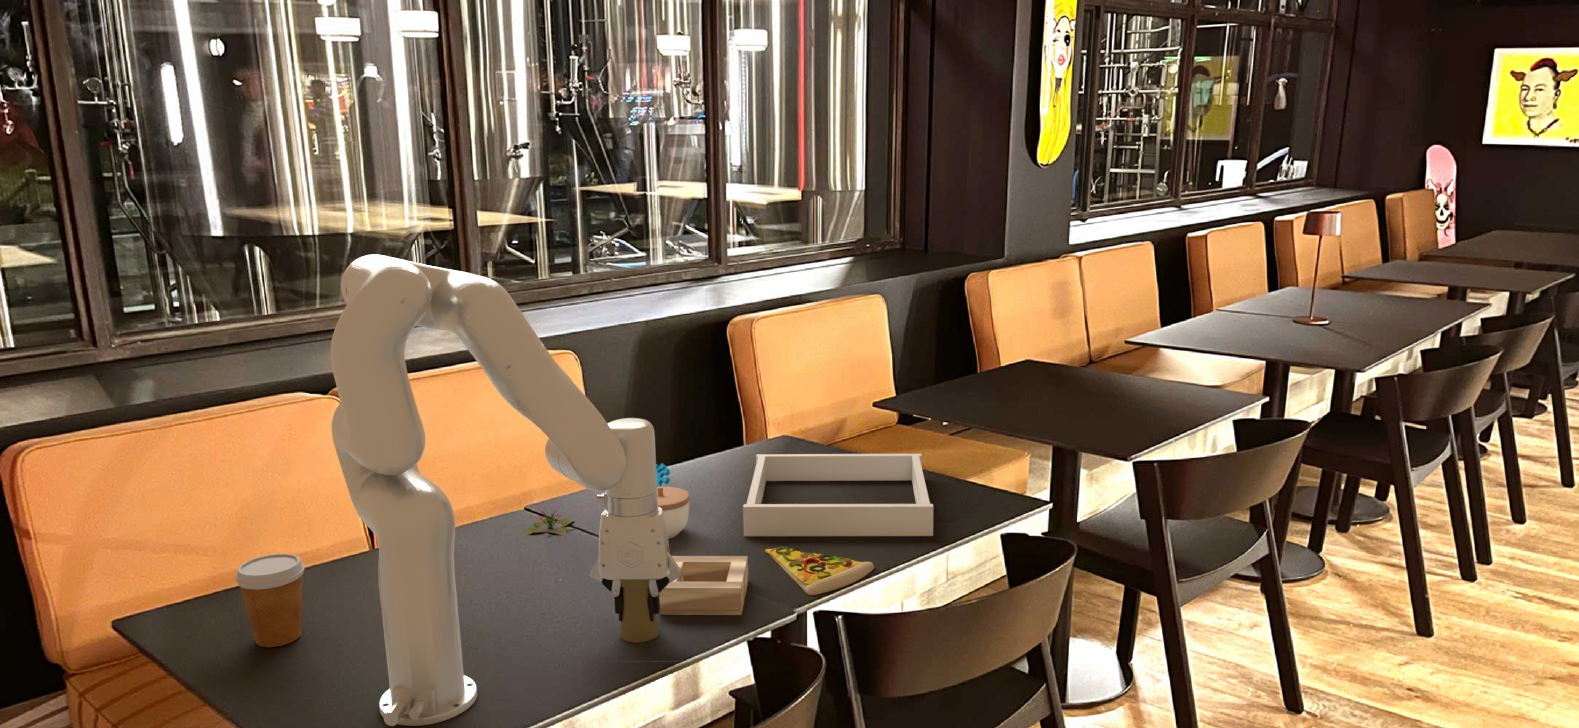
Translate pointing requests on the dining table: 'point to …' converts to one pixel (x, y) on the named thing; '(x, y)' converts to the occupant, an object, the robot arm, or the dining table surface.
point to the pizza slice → (819, 569)
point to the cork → (637, 613)
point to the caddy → (706, 586)
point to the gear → (662, 474)
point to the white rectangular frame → (838, 516)
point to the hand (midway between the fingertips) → (637, 616)
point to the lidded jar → (674, 508)
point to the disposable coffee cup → (273, 597)
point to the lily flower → (550, 524)
